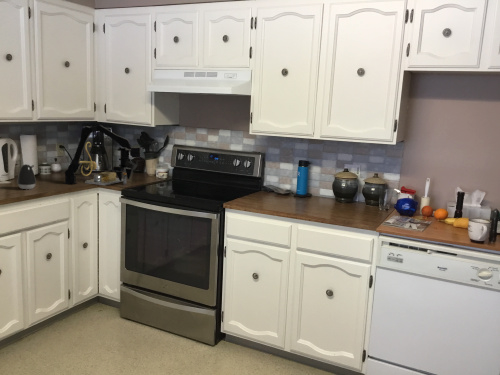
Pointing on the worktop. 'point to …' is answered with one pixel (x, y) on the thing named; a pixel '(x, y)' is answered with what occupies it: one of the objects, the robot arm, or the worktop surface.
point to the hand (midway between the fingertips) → (124, 179)
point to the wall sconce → (91, 163)
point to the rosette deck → (104, 179)
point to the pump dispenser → (26, 177)
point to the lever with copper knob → (124, 178)
